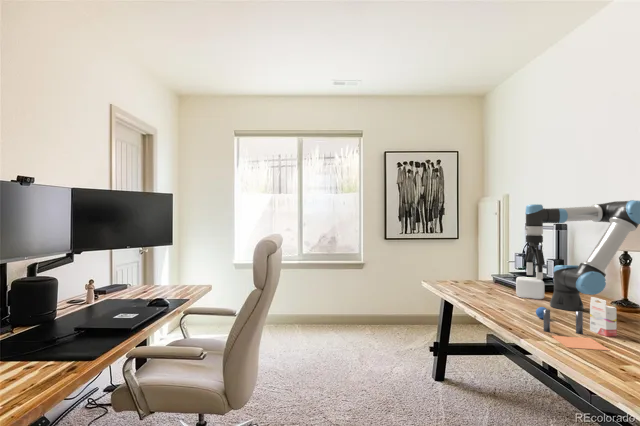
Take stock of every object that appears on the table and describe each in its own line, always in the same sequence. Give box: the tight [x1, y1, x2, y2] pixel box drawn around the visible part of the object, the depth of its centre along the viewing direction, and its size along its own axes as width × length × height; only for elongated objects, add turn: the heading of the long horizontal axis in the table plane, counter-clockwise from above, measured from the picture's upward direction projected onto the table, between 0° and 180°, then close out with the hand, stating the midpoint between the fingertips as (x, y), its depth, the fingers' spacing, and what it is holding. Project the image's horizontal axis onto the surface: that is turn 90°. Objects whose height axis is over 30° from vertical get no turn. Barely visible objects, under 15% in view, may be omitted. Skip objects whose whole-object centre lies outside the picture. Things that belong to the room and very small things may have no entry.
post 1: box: [543, 308, 551, 333], centre depth 158 cm, size 2×2×9 cm
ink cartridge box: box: [589, 296, 618, 337], centre depth 156 cm, size 9×5×15 cm, turn 5°
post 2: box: [575, 310, 584, 335], centre depth 156 cm, size 2×2×9 cm
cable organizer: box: [515, 276, 545, 300], centre depth 228 cm, size 15×11×12 cm
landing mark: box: [551, 335, 611, 352], centre depth 143 cm, size 14×14×1 cm
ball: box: [535, 306, 547, 320], centre depth 178 cm, size 6×6×6 cm
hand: (534, 276), depth 188 cm, fingers open, 13 cm apart
